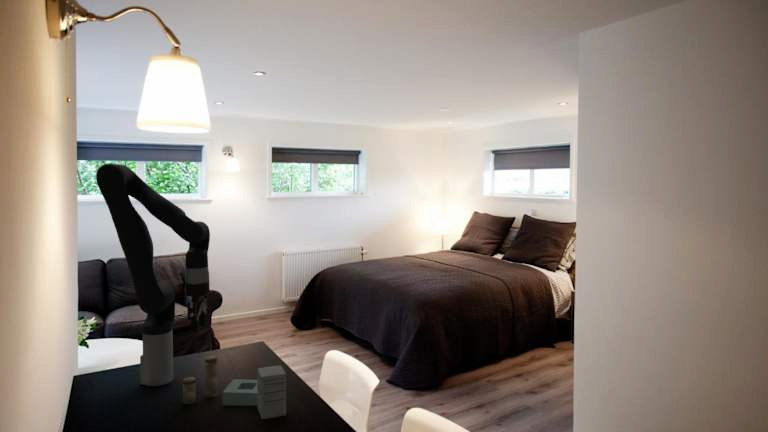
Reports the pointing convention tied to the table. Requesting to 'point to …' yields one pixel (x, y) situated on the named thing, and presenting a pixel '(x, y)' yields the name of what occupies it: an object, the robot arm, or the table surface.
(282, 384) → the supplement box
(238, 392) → the socket block
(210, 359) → the tall pin
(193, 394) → the short pin
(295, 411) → the table surface
